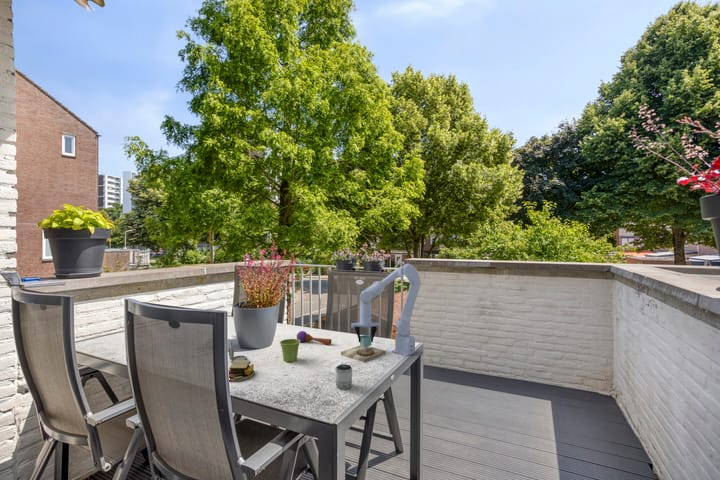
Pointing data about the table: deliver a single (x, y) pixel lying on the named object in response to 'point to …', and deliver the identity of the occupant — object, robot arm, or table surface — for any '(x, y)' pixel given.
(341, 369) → the camera lens
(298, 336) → the kendama
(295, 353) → the plant pot
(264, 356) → the table surface
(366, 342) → the teal faceted ring
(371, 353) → the gear board
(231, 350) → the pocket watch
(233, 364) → the toy sandwich meal
